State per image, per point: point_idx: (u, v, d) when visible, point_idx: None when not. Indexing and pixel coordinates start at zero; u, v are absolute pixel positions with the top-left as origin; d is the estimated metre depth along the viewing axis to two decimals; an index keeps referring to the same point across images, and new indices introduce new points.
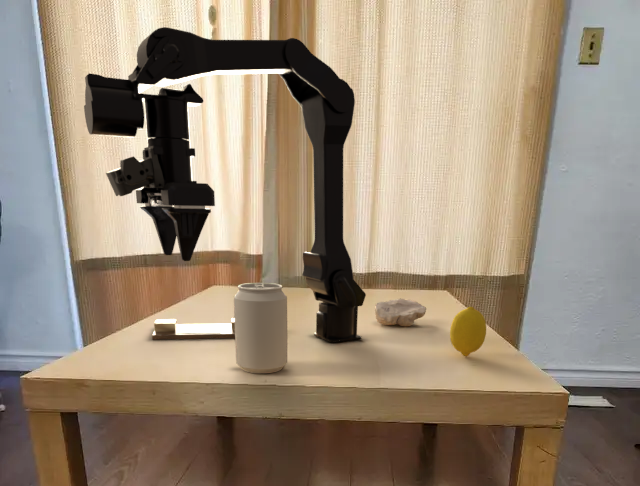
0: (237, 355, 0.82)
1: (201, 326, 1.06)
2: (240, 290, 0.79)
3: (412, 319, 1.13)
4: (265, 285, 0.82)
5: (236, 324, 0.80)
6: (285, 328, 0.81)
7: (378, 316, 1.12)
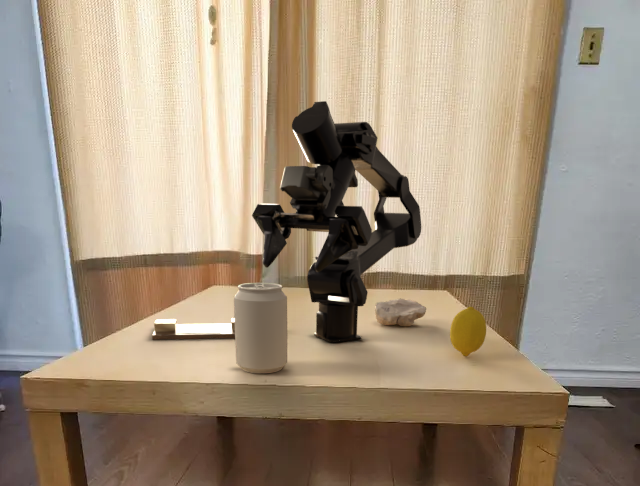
0: (237, 355, 0.82)
1: (201, 326, 1.06)
2: (240, 290, 0.79)
3: (412, 319, 1.13)
4: (265, 285, 0.82)
5: (236, 324, 0.80)
6: (285, 328, 0.81)
7: (378, 316, 1.12)
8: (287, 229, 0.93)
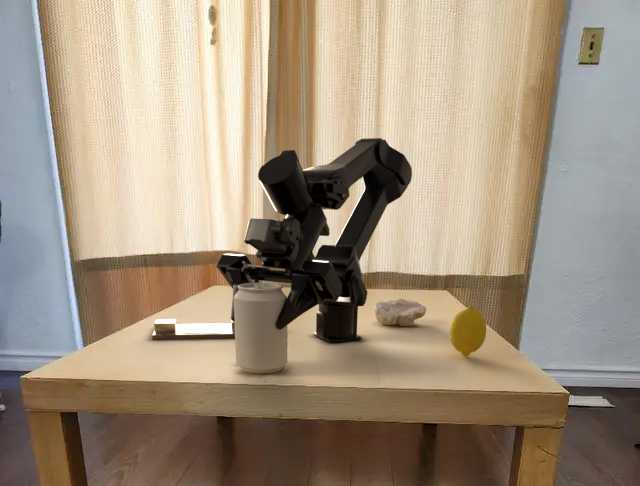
0: (237, 355, 0.82)
1: (201, 326, 1.06)
2: (240, 290, 0.79)
3: (412, 319, 1.13)
4: (265, 285, 0.82)
5: (236, 324, 0.80)
6: (285, 328, 0.81)
7: (378, 316, 1.12)
8: (254, 280, 0.88)
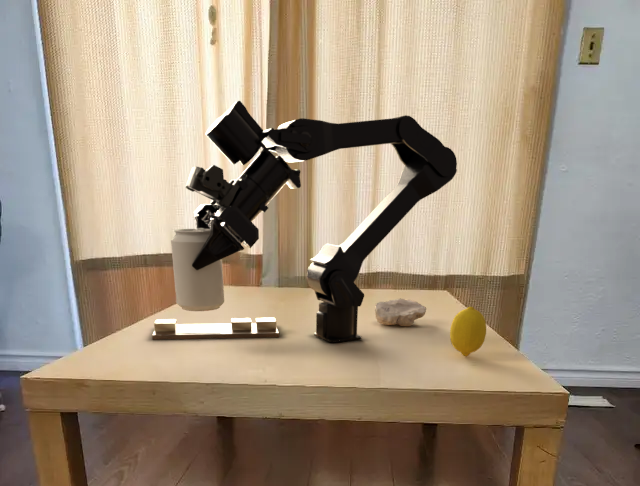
0: None
1: (201, 326, 1.06)
2: None
3: (412, 319, 1.13)
4: None
5: None
6: (208, 270, 0.87)
7: (378, 316, 1.12)
8: None
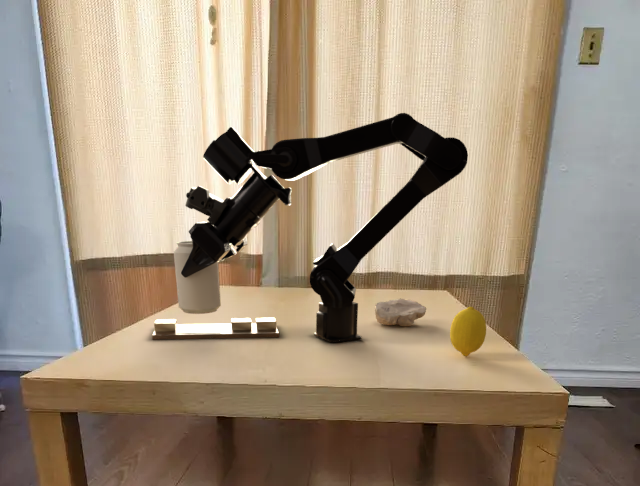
0: None
1: (201, 326, 1.06)
2: None
3: (412, 319, 1.13)
4: None
5: None
6: (196, 278, 0.98)
7: (378, 316, 1.12)
8: (240, 242, 1.04)
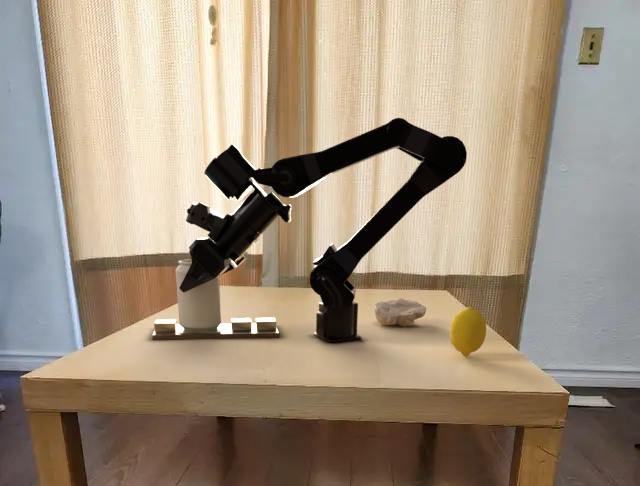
0: None
1: None
2: None
3: (412, 319, 1.13)
4: None
5: None
6: (197, 297, 0.99)
7: (378, 316, 1.12)
8: None
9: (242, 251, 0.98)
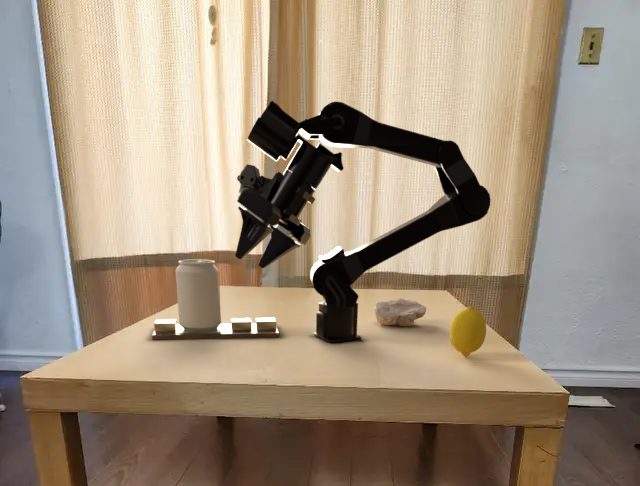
0: None
1: None
2: None
3: (412, 319, 1.13)
4: None
5: None
6: (197, 297, 0.99)
7: (378, 316, 1.12)
8: (300, 230, 1.00)
9: (296, 209, 0.93)
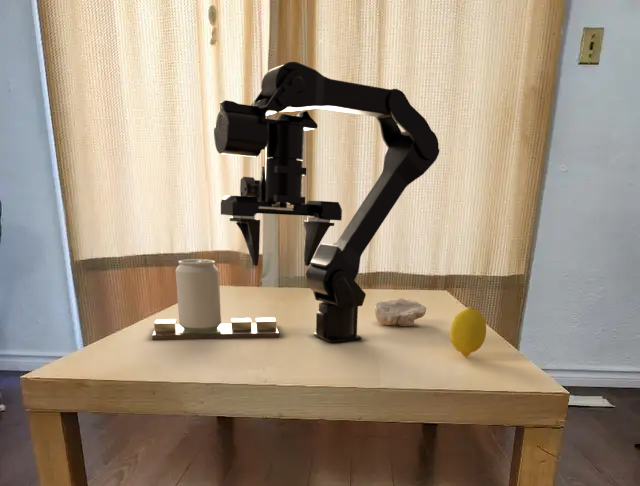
0: None
1: None
2: None
3: (412, 319, 1.13)
4: None
5: None
6: (197, 297, 0.99)
7: (378, 316, 1.12)
8: None
9: (284, 188, 0.87)
